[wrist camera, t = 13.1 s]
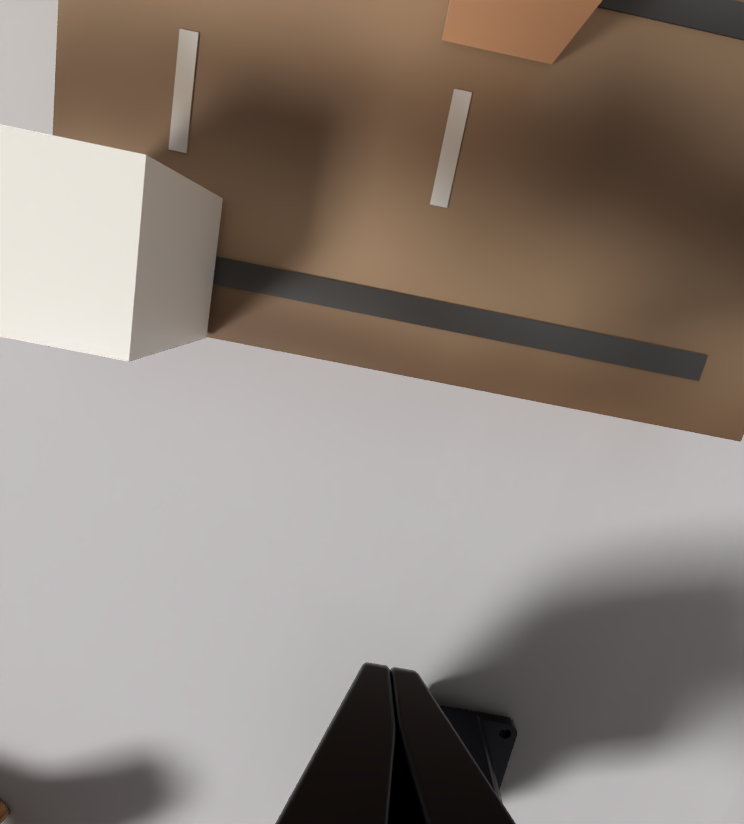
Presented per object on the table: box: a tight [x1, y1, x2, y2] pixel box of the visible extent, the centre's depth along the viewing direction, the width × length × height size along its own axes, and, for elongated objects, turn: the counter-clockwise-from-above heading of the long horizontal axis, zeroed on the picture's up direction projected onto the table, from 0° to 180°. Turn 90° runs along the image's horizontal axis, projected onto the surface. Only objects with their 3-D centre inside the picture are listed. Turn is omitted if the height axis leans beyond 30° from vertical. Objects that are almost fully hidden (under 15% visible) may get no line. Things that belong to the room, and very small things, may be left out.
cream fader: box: [0, 124, 223, 361], centre depth 13 cm, size 4×3×5 cm
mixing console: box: [53, 0, 744, 442], centre depth 16 cm, size 13×22×3 cm, turn 79°
